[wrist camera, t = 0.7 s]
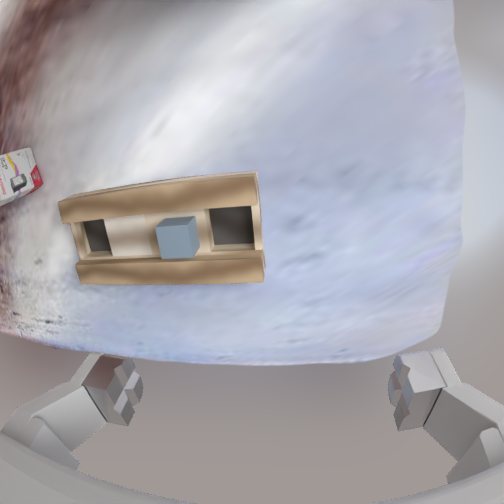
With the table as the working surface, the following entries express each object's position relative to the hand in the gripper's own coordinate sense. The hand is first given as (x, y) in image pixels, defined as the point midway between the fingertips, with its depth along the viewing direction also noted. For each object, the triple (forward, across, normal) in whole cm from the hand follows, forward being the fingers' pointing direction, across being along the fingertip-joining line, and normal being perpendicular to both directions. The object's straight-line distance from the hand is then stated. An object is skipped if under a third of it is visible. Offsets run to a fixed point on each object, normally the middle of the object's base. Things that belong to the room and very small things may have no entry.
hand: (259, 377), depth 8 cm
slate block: (+36, +15, +8) cm, 40 cm away
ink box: (+39, +48, -8) cm, 63 cm away
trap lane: (+39, +20, +7) cm, 45 cm away
